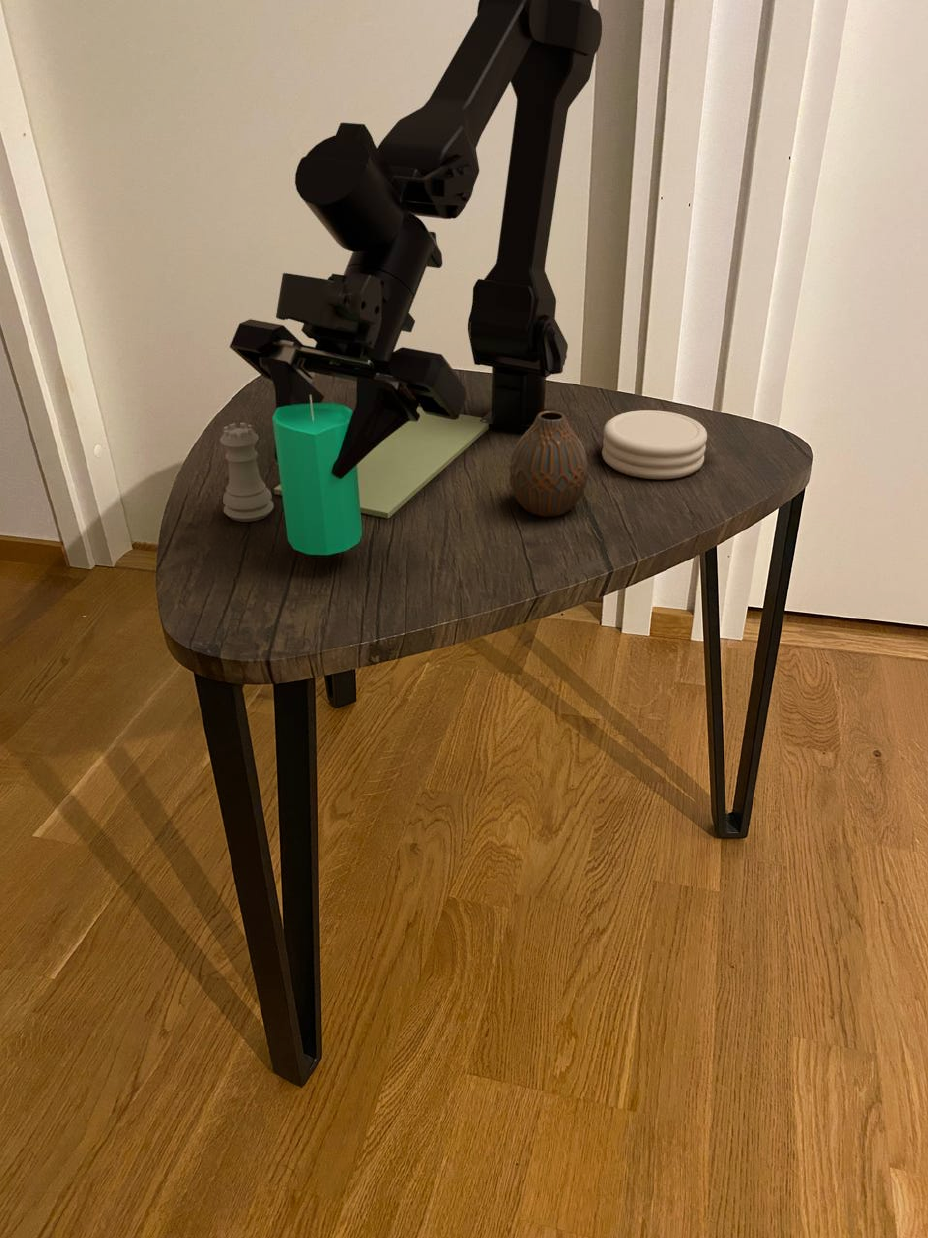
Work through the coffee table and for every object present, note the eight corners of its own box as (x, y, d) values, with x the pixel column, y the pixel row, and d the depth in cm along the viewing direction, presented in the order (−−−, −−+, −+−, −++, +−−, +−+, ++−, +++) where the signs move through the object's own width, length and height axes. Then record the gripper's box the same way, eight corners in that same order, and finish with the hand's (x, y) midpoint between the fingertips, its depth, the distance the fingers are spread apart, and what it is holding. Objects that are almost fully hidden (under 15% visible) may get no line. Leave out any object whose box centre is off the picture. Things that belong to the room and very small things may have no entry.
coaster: (593, 474, 95) (595, 440, 93) (610, 435, 103) (613, 403, 101) (698, 487, 92) (703, 452, 90) (707, 446, 100) (712, 414, 98)
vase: (580, 528, 86) (587, 433, 81) (502, 520, 87) (505, 427, 82) (588, 493, 91) (595, 403, 86) (515, 487, 92) (517, 398, 88)
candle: (274, 548, 78) (254, 404, 71) (309, 514, 83) (294, 377, 76) (342, 560, 76) (328, 414, 69) (374, 525, 81) (364, 385, 74)
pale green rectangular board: (394, 407, 109) (394, 402, 109) (493, 424, 105) (493, 419, 105) (274, 494, 91) (273, 488, 91) (388, 518, 87) (387, 512, 87)
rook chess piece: (230, 527, 86) (217, 441, 81) (219, 506, 89) (206, 423, 85) (279, 518, 87) (270, 433, 83) (267, 497, 91) (257, 415, 86)
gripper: (228, 210, 73) (148, 400, 71) (444, 238, 65) (361, 451, 64) (302, 291, 83) (234, 460, 81) (497, 323, 75) (427, 510, 74)
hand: (307, 468), depth 75 cm, fingers closed on candle, 5 cm apart
